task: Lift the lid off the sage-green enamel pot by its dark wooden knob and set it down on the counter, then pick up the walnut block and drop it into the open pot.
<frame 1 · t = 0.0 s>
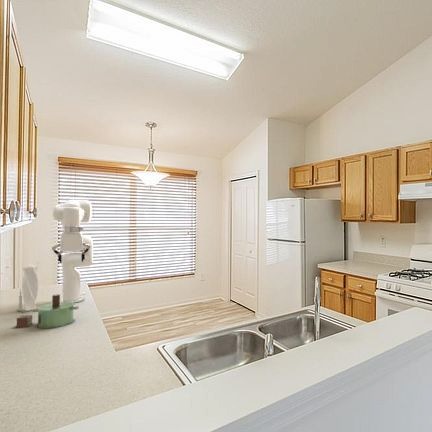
hand: (71, 261, 171), 31 cm above the countertop, tool pointing down, fingers open, 9 cm apart
pot: (56, 323, 165), on the countertop
block: (24, 325, 162), on the countertop
pot lid: (56, 306, 165), point 8 cm above the countertop, touching pot
skyscraper: (29, 310, 189), on the countertop
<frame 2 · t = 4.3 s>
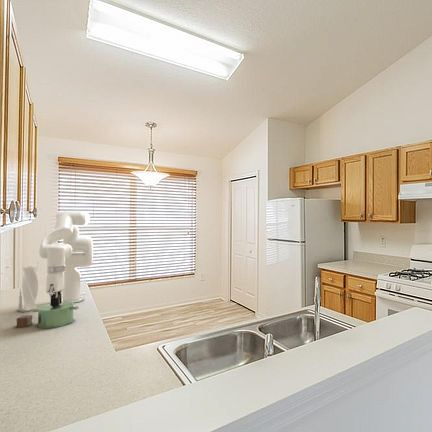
hand: (56, 304, 165), 10 cm above the countertop, tool pointing down, fingers closed on pot lid, 3 cm apart
pot lid: (56, 306, 165), point 9 cm above the countertop, touching gripper, pot
everything else where it was.
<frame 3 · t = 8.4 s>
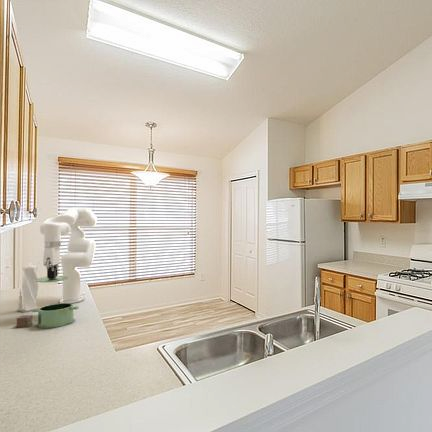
hand: (52, 277, 180), 21 cm above the countertop, tool pointing down, fingers closed on pot lid, 3 cm apart
pot lid: (52, 279, 180), point 20 cm above the countertop, touching gripper
everything else where it was.
when the fingers open (2 cm above the countertop, at t = 12.8 s): pot lid stays where it is, point 1 cm above the countertop.
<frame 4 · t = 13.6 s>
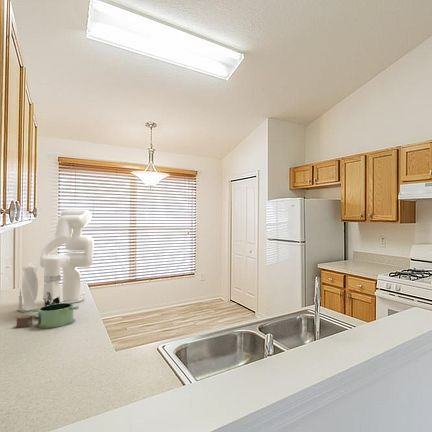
hand: (52, 308, 180), 3 cm above the countertop, tool pointing down, fingers open, 9 cm apart
pot lid: (52, 313, 180), point 1 cm above the countertop
everything else where it was.
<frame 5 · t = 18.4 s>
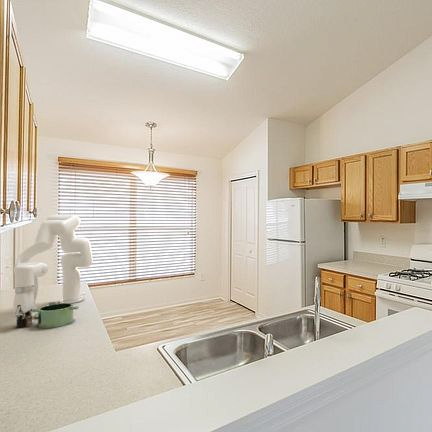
hand: (24, 324, 162), 0 cm above the countertop, tool pointing down, fingers closed on block, 4 cm apart
block: (24, 325, 162), on the countertop, touching gripper
everything else where it was.
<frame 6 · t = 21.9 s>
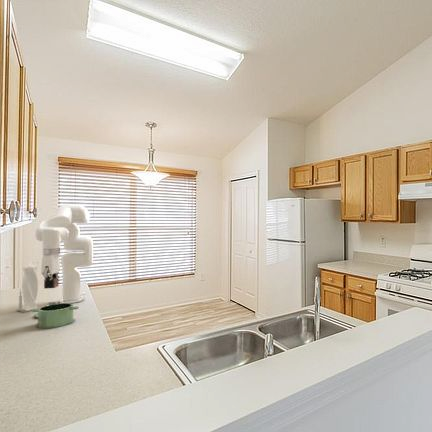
hand: (51, 286, 165), 19 cm above the countertop, tool pointing down, fingers closed on block, 4 cm apart
block: (51, 287, 165), point 19 cm above the countertop, touching gripper
everything else where it was.
when the fingers open (7 cm above the countertop, at t = 25.4 s): block drops 6 cm, resting on pot.
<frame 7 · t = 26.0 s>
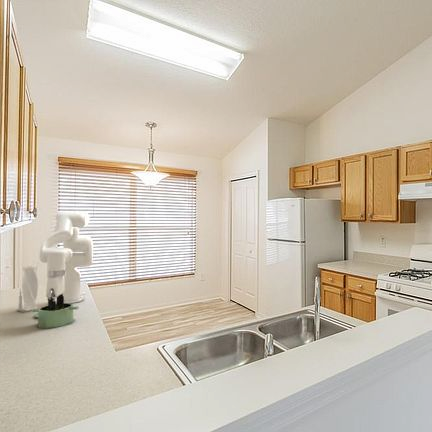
hand: (56, 306, 166), 9 cm above the countertop, tool pointing down, fingers open, 9 cm apart
block: (56, 322, 166), point 1 cm above the countertop, touching pot
everything else where it was.
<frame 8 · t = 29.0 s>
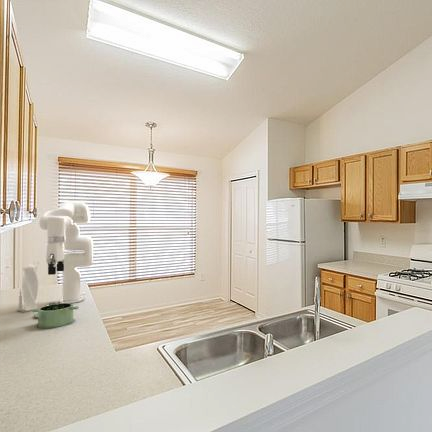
hand: (56, 272, 165), 26 cm above the countertop, tool pointing down, fingers open, 9 cm apart
nothing on the countertop moved.
at the end: pot lid point 0.6 cm above the countertop; pot lid inside the target area (0.1 cm from its centre), point 0.6 cm above the countertop; block inside the target area in the pot (0.0 cm from its centre), point 0.5 cm above the pot's base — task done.
